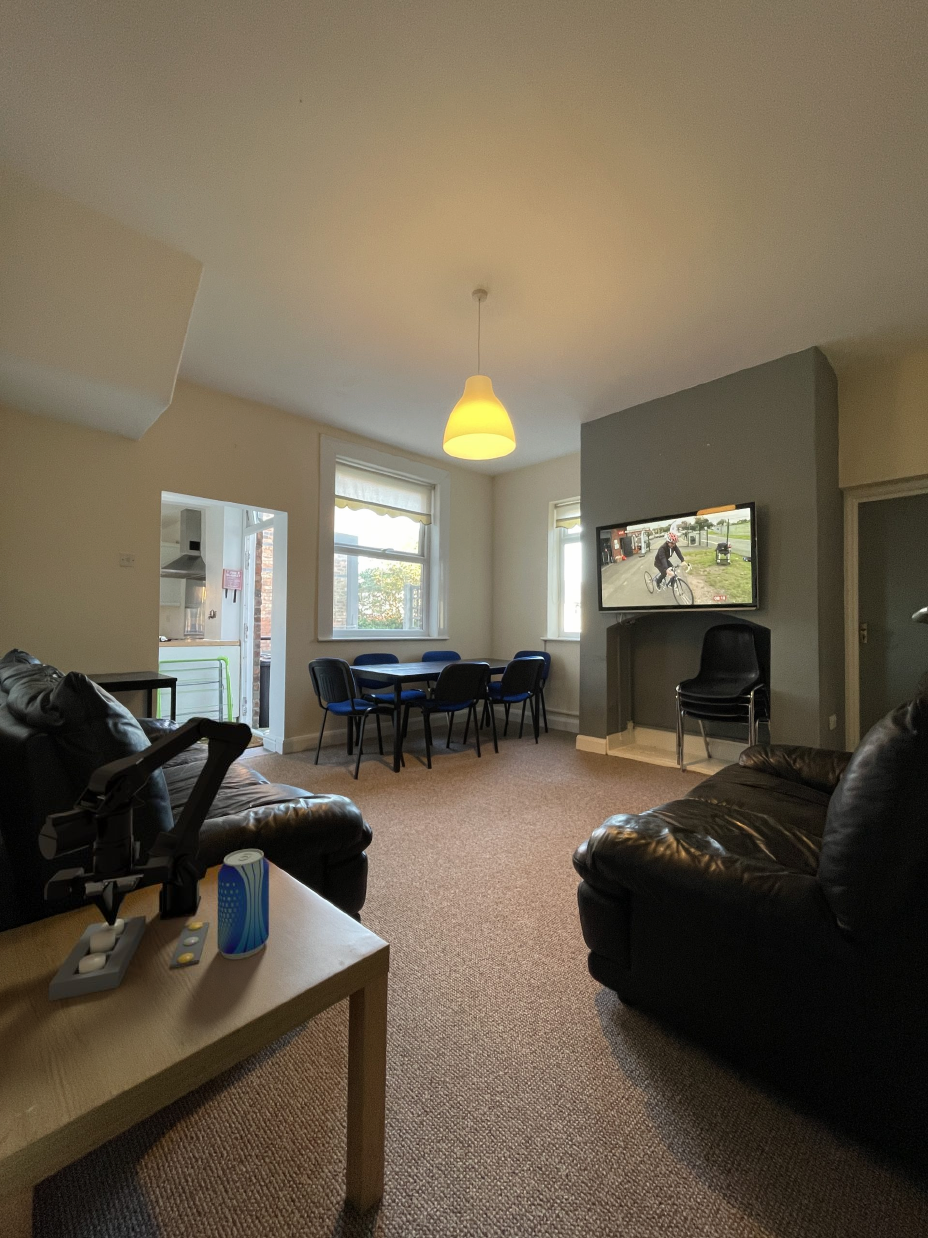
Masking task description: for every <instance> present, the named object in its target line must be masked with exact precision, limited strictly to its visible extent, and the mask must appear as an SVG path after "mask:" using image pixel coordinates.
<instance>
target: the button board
mask: <svg viewBox="0 0 928 1238" xmlns="http://www.w3.org/2000/svg"><path fill="white" fill-rule="evenodd" d="M122 920H124V932H123V934H121V935H116V936H115V947H114V949H113V950H111V951H110V952H104V953H105V955H106V964H105V967H104V969H102V970H96V971H91V972H86V973H80V974H79V962H80V960H81V959H83V958H84V957H86V956H88V955H90V937H91V936H92V935H93V934H94V933H96V932H98V931H100V927H101V926H102V925H103V924H104V923H106V922H107V921H104V922H97V923H96V922H95V923H92V924H89V925H88V926H87V928H86V930H85V931H84V932H83V934H82V936H81V937H80V938H79V940H78V941H77V943H76V944H75V946H74V947H73V949H72V950H71V952H70V953H69V954H68V956H67V957H66V959H65V961H64V962H63V964H62V965H61V966H60V968H59V969H58V971H57V972H56V974H55V976H54V977H53V978H52V979H51V982H50V983H49V986H48V994H49V995H48V1001H49V1002H50V1001H51V1002H52V1001H56V1000H61V999H62V1000H63V999H67V998H72V997H76V996H80V995H87V994H91V993H97V992H101V991H106V990H111V989H116V988H119V985H120V984H121V981H122V979H123V977H124V975H125V973H126V972H127V970H128V967H129V965H130V962H131V960H132V959H133V957H134V954H135V952H136V950H137V949H138V946H139V944H140V942H141V940H142V938H143V936H144V933H145V931H146V929H147V928H146V927H147V926H146V925H147V915H142V916H141V915H140V916H134V917H129V918H123V919H122Z"/></svg>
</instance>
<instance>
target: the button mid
mask: <svg viewBox="0 0 928 1238" xmlns="http://www.w3.org/2000/svg"><path fill="white" fill-rule="evenodd" d="M114 947H115V929H111V928H109V929H103V930H100V931H98V932H96V933H94V934H93V935H92V936H91V937H90V954H93V953H100V952H101V953H104V952H110V951H111V950H113V949H114Z"/></svg>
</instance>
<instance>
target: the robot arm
mask: <svg viewBox="0 0 928 1238" xmlns="http://www.w3.org/2000/svg"><path fill="white" fill-rule="evenodd" d="M202 739H208V742H207V758H206V761H205V763H204V764H203V767H202V769H201V771H200V773H199V776H198V777H197V779H196V781H195V783H194V786H193V787H192V789H191V792H190V794H189V796H188V798H187V800H186V801H185V804H184V806H183V808H182V810H181V812H180V814H179V816H178V818H177V820H176V823H175V824H174V825H173V827H171V828H170V829H168V831H167V832H164V831H160V832H158V833H157V836H156V838H155V841H154V842H153V845H152V846H151V848H150V849H149V850H148V853H149V855H148V856H149V857H148V858H147V863H146V865H141V866H133V865H135V864H136V863H137V860H139V855H140V845H141V841H134V834H133V809H136V808H139V807H143V806H144V805H145V804H146V803H145V800H142V799H140V798H139V797H138V796H137V795H136V793H138V791H140V790H141V788H143V787H144V786H145V785H146V784H147V782H148V781H149V778H150V777H151V775H153V774H154V773H155V772H156V771H157V770H158V769H160V768H161V767H164V765H166V764H167V763H168V762H170V761H172V760H173V759H175V758H176V757H177V756H179V755H180V754H182V753H183V752H185V751H187V750H188V749H190V748H191V747H192V746H194V745H195V744H196V743H198V742H200V741H201V740H202ZM252 739H253V732H252V728H251V727H250V725H249V724H247V723H245V722H237V721H230V720H229V721H228V720H222V721H218V720H214V719H211V718H209V717H203V716H193V717H191V718H189V719H188V720H187V721H186V722H185V723H183V724H181V725H180V726H179V727H177V728H176V729H175V728H174V730H172V731H170V732H169V733H168V734H166V735H164V736H163V737H161V738H159V739H158V740H156V741H155V742H153V743H152V744H150V745H149V746H147V747H145V748H143V749H142V750H140V751H139V752H137V753H135V754H132V755H130V756H126V757H122V758H120V759H119V758H118V759H117V760H114V761H111V762H109V763H107V764H105V765H103V766H100V767H99V768H97V769H96V770H95V771H93V772H92V773H91V775H90V779H89V781H88V785H87V786H86V788H85V790H84V789H83V792H82V793H81V794H80V796H79V798H77V801H76V802H75V803H74V805H73V809H72V810H69V811H65V812H61V813H54V814H50V815H47V816H46V818H45V824H43V826H41V827H42V828H41V830H40V832H39V833H40V834H38V846H39V850H40V852H41V854H42V856H43V858H45V859H46V860H52V859H53V860H54V858H55V859H56V858H58V857H61V856H64V855H66V854H67V855H68V854H71V853H73V852H76V851H79V850H82V849H85V848H88V847H90V846H91V845H92V844H93V850H91V858H93V872H89V873H84V872H85V870H84V868H83V867H75V868H67V869H66V868H65V869H60V870H59V871H58V872H56V874H54V875H53V877H51V879H49V881H48V882H46V884H45V887H44V889H43V891H44V892H43V893H44V894H43V895H44V897H43V898H44V900H46V901H50V900H58V899H64V898H66V897H67V896H68V895H69V894H71V892H72V891H73V890H72V888H78V887H85V894H84V895H83V897H84V899H85V900H88V899H89V900H90V901H91V902H92V903H93V904H94V905H95V907H96V908H97V909H98V911H100V914H102V917H103V918H104V920H105V922H107V923H108V925H109V926H112V925H115V923H116V921H117V919H119V915H120V913H121V909H122V906H123V904H124V901H125V898H126V896H127V894H129V893H132V892H133V890H134V889H135V887H136V885H137V884H138V882H139V881H140V879H141V878H142V882H143V883H144V884H146V885H147V886H152V885H153V886H154V885H158V884H159V885H160V884H162V885H161V888H160V889H159V892H158V913H160V915H159V920H166V919H170V918H178V917H182V916H183V917H184V916H191V915H195V914H197V912H198V909H199V906H200V903H201V900H202V896H201V895H200V880H203V879H205V878H206V875H207V871H208V866H207V865H206V864H204V863H203V862H202V861H200V860H198V859H197V858H198V854H199V851H200V832H201V829H202V827H203V825H204V823H205V821H206V818H207V816H208V815H209V812H210V810H211V808H212V806H213V803H214V802H215V800H216V797H217V795H218V793H219V791H220V789H221V786H222V784H223V782H224V780H225V778H226V776H227V775H228V774H227V773H228V772H229V769H230V767H231V765H233V763H234V762H236V761H237V760H238V759H239V758H241V756H243V754H244V753H245V751H246V750H247V748H248V746H249V745H250V743H251V742H252ZM98 798H99V799H102V800H103V801H102V802H101V801H98V800H97V799H98ZM115 882H116V884H117V885H116V887H115V888H114V889H113V887H114V883H115Z"/></svg>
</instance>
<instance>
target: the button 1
mask: <svg viewBox="0 0 928 1238" xmlns="http://www.w3.org/2000/svg"><path fill="white" fill-rule="evenodd" d="M105 964H106V955H105V953H101V952H100V953H93V954H90V955H88V956H86V957H84V958H83V959H81V960H80V962H79V974H80V973H86V972H91V971H96V970H102V969H104V967H105Z"/></svg>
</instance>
